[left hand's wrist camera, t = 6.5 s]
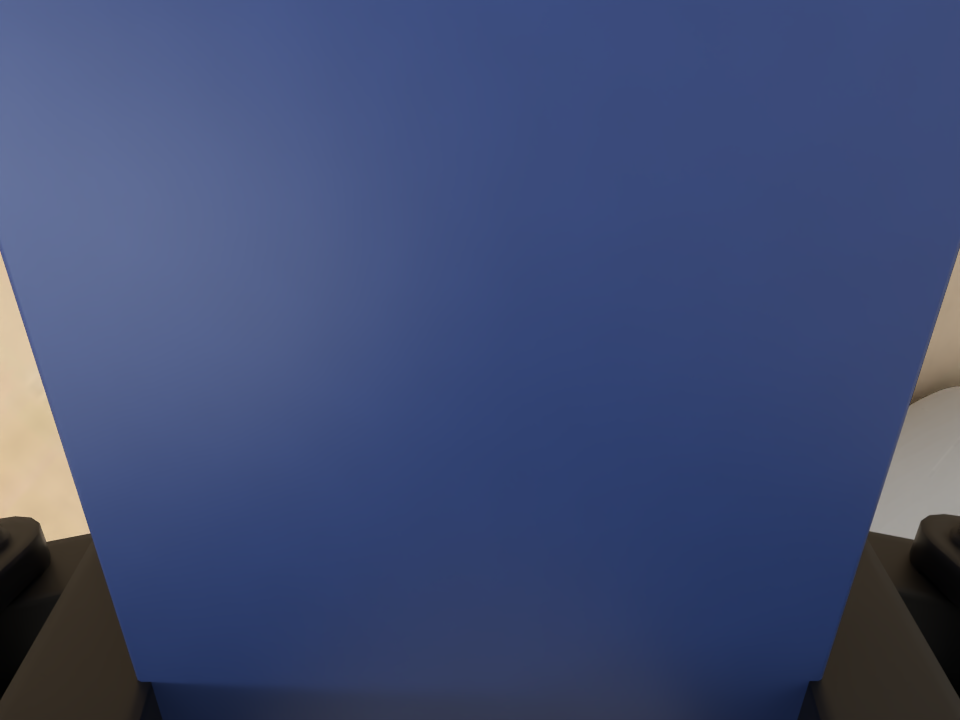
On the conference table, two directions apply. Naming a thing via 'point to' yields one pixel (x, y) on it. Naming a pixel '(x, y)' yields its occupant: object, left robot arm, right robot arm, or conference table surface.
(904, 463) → the projector
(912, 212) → the box
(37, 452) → the conference table surface
